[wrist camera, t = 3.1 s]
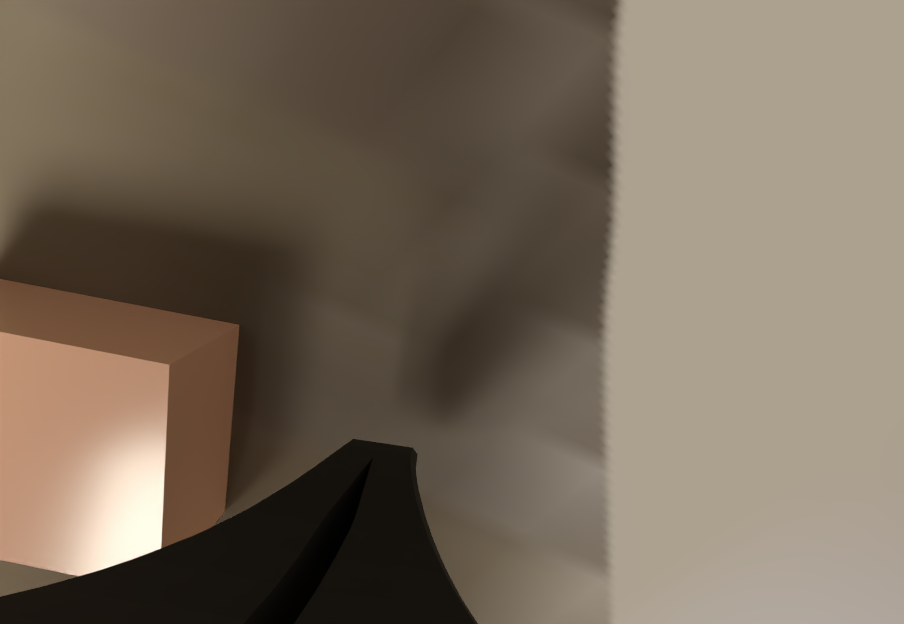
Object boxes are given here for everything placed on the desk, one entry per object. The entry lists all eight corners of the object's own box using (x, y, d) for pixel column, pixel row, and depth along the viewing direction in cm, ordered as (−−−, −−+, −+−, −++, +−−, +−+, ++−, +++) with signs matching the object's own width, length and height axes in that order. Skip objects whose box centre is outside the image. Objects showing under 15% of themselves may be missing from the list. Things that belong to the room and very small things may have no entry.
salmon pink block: (229, 505, 14) (159, 592, 11) (6, 460, 14) (-122, 534, 11) (244, 322, 12) (169, 364, 10) (-2, 275, 13) (-149, 303, 10)
